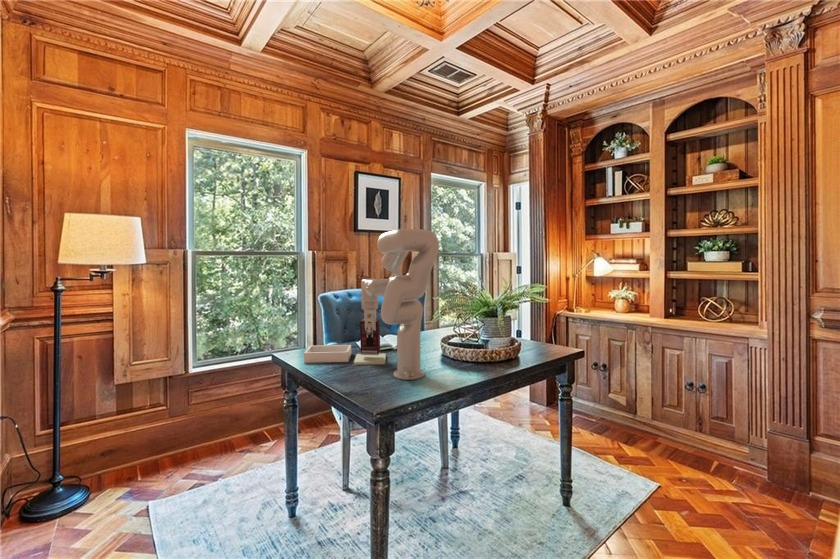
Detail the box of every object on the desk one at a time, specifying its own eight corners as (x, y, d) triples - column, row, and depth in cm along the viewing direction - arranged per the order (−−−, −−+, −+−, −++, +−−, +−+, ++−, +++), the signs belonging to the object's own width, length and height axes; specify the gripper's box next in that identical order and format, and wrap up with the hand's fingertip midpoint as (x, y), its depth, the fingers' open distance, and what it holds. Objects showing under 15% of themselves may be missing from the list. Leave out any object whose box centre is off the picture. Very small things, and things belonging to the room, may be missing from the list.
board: (385, 364, 183) (385, 361, 183) (353, 364, 183) (353, 362, 182) (385, 355, 197) (385, 353, 197) (356, 356, 196) (356, 353, 196)
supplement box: (380, 352, 192) (380, 319, 190) (378, 355, 187) (378, 321, 185) (362, 352, 192) (362, 319, 191) (360, 355, 188) (359, 321, 186)
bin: (348, 361, 187) (348, 352, 187) (304, 362, 186) (303, 352, 186) (351, 353, 201) (351, 344, 201) (310, 354, 200) (310, 345, 200)
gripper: (377, 308, 180) (377, 348, 181) (378, 302, 197) (379, 340, 198) (360, 308, 179) (360, 349, 180) (363, 303, 196) (363, 340, 198)
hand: (370, 343), depth 189 cm, fingers closed on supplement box, 5 cm apart
